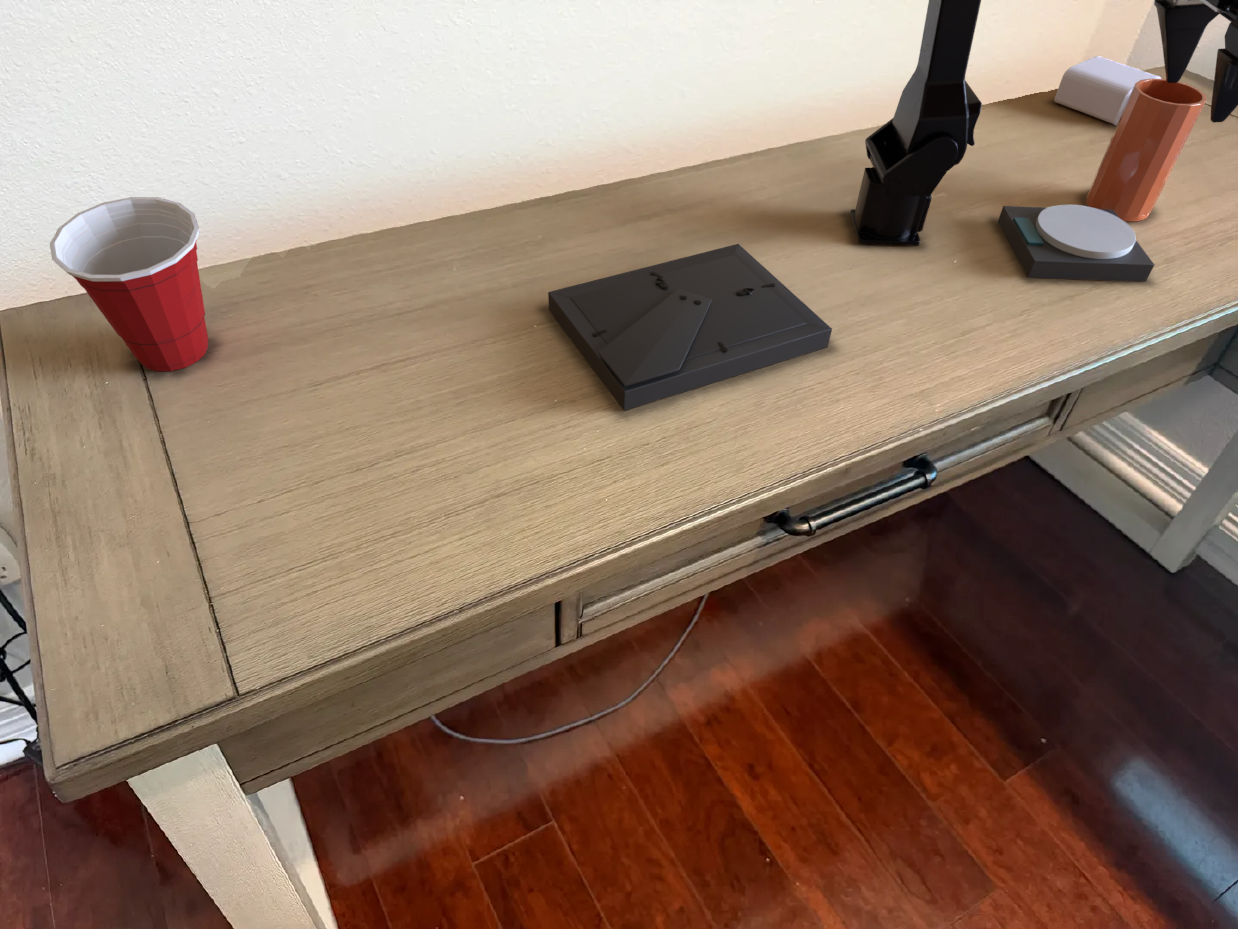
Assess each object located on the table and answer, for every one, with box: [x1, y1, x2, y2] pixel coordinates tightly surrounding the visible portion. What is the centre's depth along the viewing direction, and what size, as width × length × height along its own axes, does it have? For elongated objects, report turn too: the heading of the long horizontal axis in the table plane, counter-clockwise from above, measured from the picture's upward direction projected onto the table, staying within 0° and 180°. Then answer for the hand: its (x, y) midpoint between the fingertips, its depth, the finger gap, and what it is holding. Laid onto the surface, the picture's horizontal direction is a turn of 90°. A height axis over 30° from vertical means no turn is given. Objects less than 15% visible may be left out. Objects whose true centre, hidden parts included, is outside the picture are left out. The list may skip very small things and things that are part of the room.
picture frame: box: [547, 243, 833, 412], centre depth 81 cm, size 16×3×21 cm
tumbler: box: [1085, 78, 1207, 222], centre depth 97 cm, size 7×7×13 cm
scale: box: [997, 203, 1155, 283], centre depth 93 cm, size 12×11×3 cm
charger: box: [1053, 55, 1162, 126], centre depth 117 cm, size 5×9×15 cm
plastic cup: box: [49, 196, 209, 372], centre depth 74 cm, size 11×11×12 cm
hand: (1193, 100), depth 86 cm, fingers open, 9 cm apart
